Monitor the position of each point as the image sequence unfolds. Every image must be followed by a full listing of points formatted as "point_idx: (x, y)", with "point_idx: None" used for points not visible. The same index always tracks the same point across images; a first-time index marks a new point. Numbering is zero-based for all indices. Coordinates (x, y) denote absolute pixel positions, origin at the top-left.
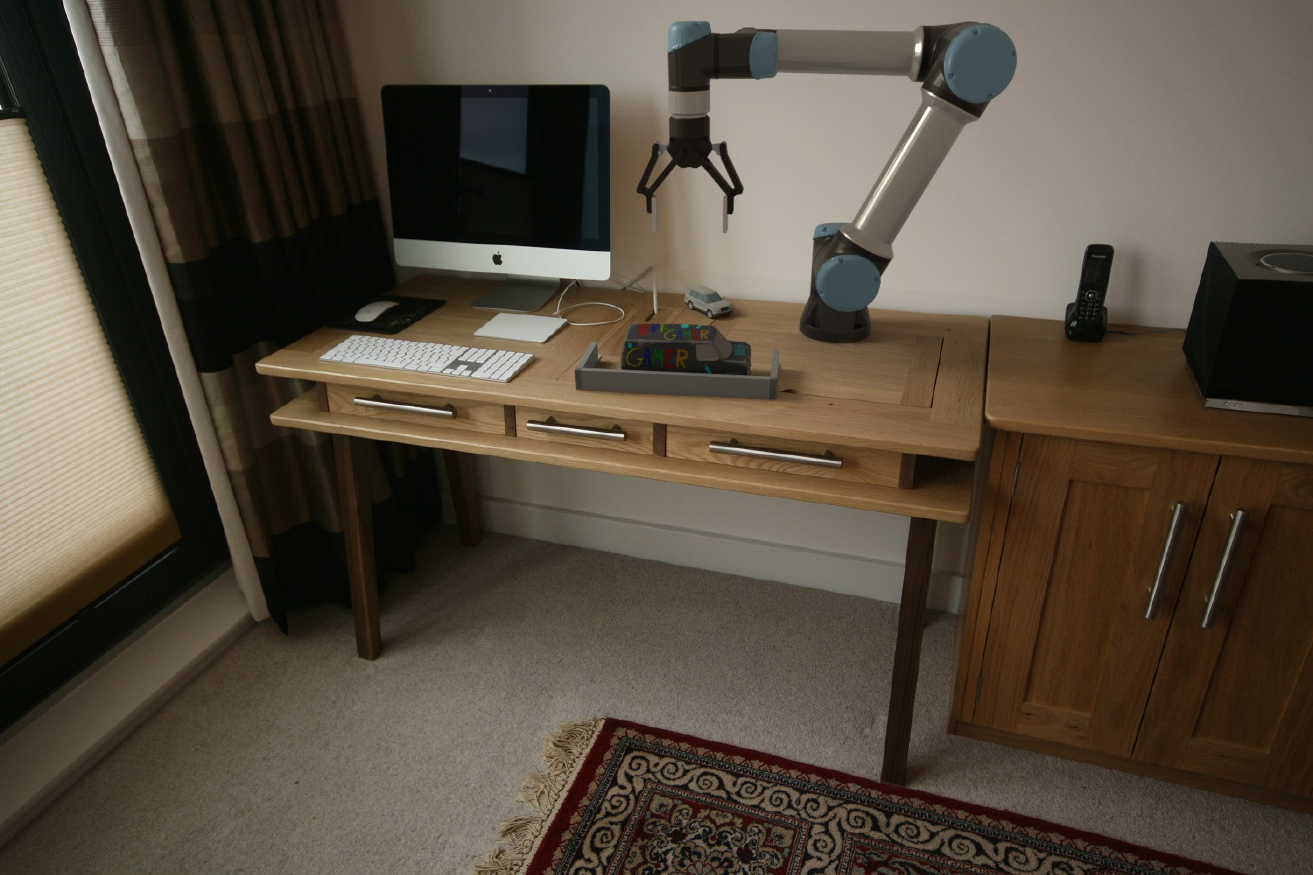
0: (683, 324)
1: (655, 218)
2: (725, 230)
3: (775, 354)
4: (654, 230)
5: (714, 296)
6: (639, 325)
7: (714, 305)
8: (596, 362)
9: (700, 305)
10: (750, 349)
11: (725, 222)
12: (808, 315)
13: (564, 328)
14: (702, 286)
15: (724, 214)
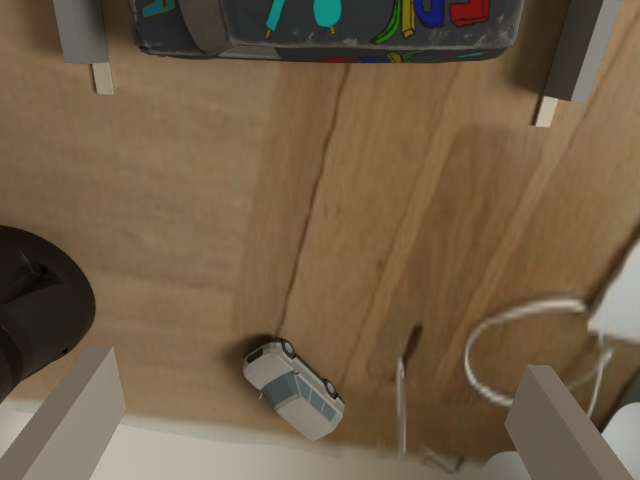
0: (332, 22)
1: (579, 438)
2: (86, 356)
3: (67, 25)
4: (542, 372)
5: (278, 394)
6: (486, 15)
7: (276, 361)
8: (551, 73)
9: (309, 376)
10: (127, 4)
11: (56, 398)
12: (44, 290)
13: (599, 282)
14: (307, 432)
15: (25, 452)
